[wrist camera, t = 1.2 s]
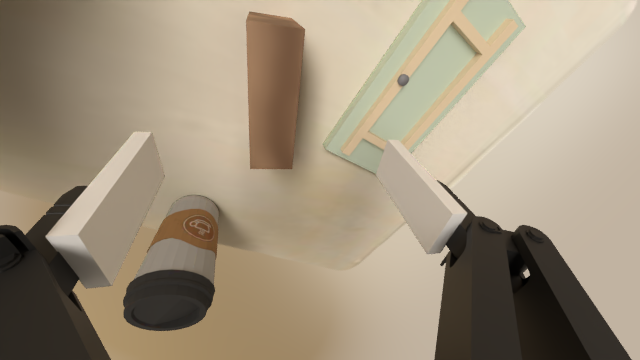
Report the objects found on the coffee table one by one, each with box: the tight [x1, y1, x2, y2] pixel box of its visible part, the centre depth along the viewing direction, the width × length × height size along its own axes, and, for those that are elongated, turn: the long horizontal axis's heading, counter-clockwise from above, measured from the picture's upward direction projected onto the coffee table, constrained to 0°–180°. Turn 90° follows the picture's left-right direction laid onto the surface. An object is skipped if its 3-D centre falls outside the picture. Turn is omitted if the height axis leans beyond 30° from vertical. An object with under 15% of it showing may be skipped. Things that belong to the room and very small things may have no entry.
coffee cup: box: [123, 195, 219, 331], centre depth 30 cm, size 8×8×15 cm
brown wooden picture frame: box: [246, 12, 305, 169], centre depth 24 cm, size 4×12×9 cm, turn 172°
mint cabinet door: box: [323, 0, 526, 174], centre depth 30 cm, size 12×24×3 cm, turn 147°
